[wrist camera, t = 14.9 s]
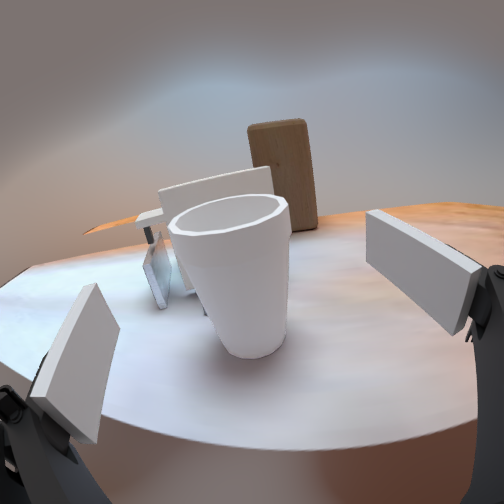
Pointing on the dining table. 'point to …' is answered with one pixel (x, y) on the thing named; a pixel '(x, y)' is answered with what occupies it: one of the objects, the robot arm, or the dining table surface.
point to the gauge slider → (203, 199)
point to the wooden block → (287, 166)
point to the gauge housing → (158, 270)
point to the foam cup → (239, 268)
